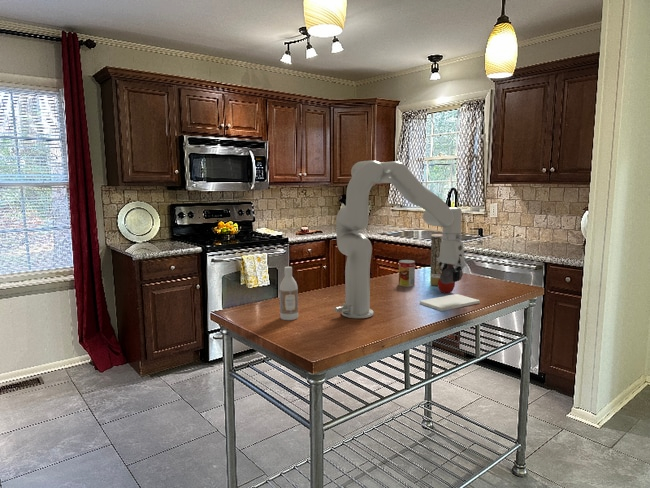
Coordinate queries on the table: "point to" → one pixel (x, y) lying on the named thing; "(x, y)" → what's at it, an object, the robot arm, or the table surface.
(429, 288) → the table surface
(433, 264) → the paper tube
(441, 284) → the apple
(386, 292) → the table surface
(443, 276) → the perforated stone tool
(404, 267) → the canned food
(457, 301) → the cream board
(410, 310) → the table surface
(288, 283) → the bath foam
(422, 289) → the table surface
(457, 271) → the robot arm
